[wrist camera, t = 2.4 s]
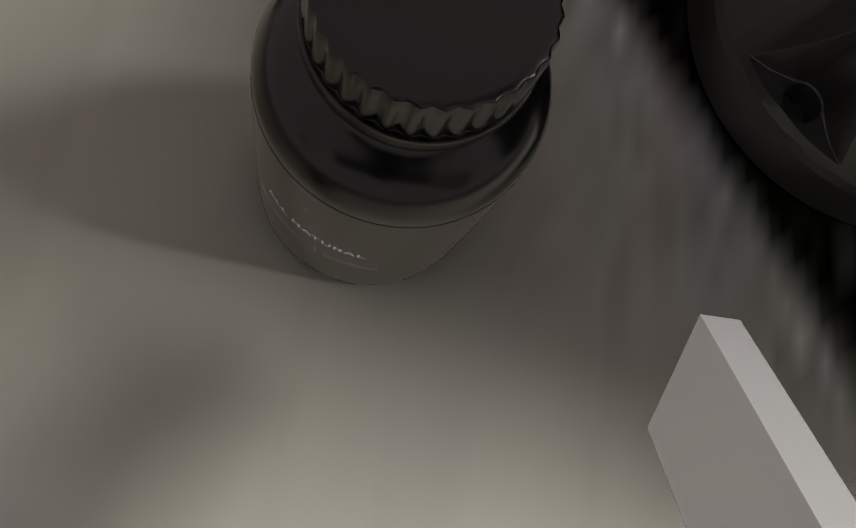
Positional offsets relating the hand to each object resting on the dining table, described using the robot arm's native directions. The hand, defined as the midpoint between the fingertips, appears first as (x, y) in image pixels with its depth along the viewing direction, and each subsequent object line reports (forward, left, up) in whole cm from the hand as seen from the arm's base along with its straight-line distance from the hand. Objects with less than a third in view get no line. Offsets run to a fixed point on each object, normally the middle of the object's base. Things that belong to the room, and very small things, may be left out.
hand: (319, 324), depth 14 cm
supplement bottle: (-1, -6, -11) cm, 13 cm away
